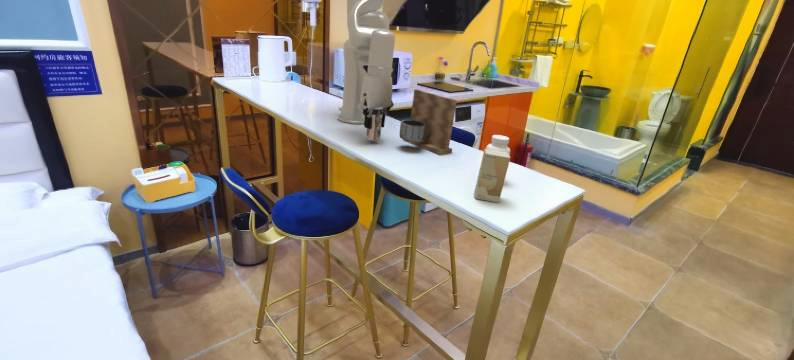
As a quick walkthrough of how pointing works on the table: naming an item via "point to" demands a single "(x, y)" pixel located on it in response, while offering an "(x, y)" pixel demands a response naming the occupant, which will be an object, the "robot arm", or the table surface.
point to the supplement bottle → (499, 143)
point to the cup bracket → (430, 122)
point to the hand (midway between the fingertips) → (374, 126)
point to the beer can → (375, 124)
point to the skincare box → (491, 175)
